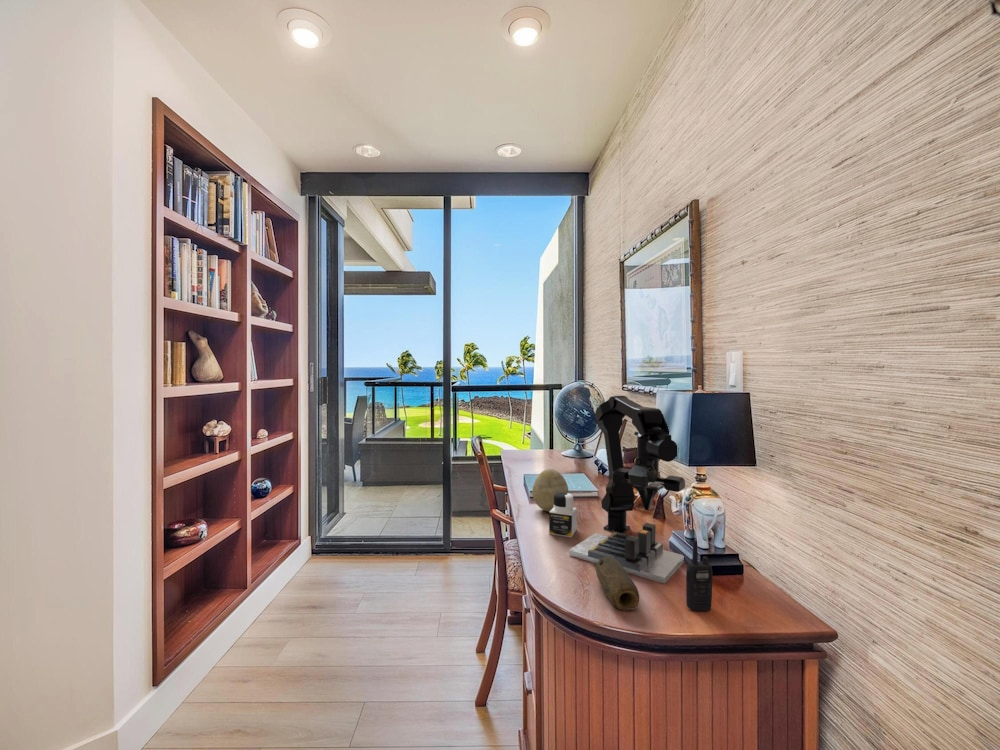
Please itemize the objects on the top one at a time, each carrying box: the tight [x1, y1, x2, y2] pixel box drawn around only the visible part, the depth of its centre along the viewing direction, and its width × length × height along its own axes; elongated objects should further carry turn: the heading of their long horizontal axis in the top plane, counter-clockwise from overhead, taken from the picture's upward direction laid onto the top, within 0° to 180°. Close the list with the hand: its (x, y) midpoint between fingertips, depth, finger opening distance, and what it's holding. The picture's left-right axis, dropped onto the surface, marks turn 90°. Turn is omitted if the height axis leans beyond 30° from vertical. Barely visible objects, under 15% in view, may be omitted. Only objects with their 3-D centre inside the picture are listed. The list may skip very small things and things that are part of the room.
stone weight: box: [595, 556, 640, 611], centre depth 104 cm, size 15×7×7 cm, turn 8°
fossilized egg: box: [532, 468, 569, 512], centre depth 164 cm, size 13×13×15 cm
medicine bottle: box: [548, 492, 578, 538], centre depth 143 cm, size 7×7×12 cm
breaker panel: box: [568, 522, 684, 584], centre depth 124 cm, size 17×26×8 cm, turn 52°
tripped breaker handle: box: [636, 529, 651, 554], centre depth 121 cm, size 3×2×5 cm
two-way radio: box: [685, 539, 714, 612], centre depth 100 cm, size 6×4×15 cm
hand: (647, 509), depth 128 cm, fingers closed
